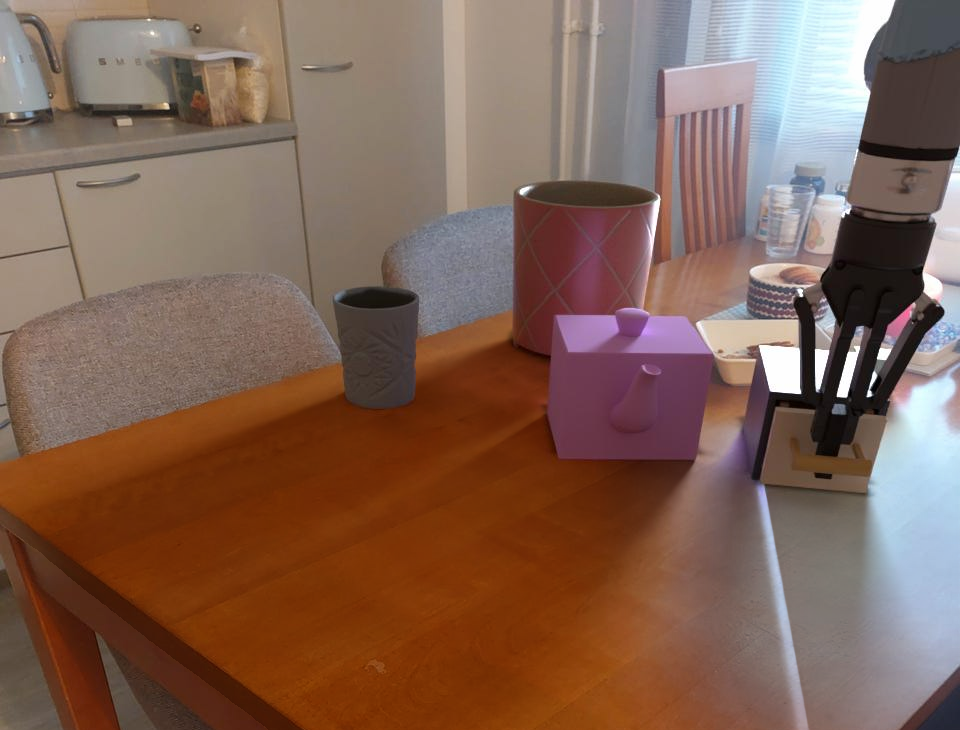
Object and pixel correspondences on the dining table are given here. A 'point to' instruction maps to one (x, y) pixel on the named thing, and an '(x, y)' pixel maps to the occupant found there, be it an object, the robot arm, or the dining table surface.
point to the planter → (578, 253)
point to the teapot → (627, 386)
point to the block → (880, 360)
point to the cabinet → (783, 394)
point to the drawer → (795, 451)
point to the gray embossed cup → (378, 344)
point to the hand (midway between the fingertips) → (821, 472)
